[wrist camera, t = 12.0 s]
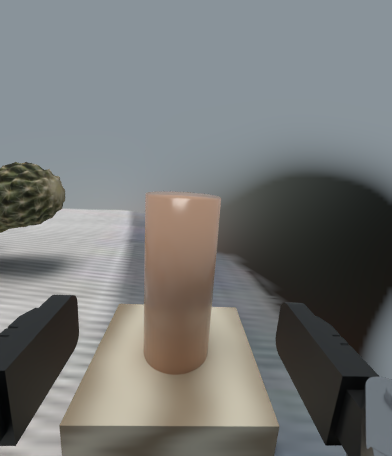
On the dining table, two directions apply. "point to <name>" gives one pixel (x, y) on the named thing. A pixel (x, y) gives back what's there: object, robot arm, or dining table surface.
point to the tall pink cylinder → (179, 278)
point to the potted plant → (28, 195)
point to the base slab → (170, 398)
